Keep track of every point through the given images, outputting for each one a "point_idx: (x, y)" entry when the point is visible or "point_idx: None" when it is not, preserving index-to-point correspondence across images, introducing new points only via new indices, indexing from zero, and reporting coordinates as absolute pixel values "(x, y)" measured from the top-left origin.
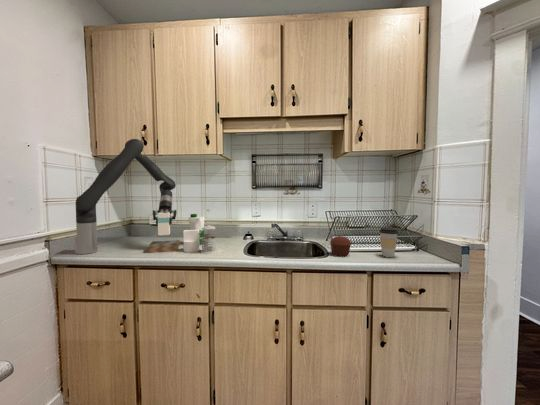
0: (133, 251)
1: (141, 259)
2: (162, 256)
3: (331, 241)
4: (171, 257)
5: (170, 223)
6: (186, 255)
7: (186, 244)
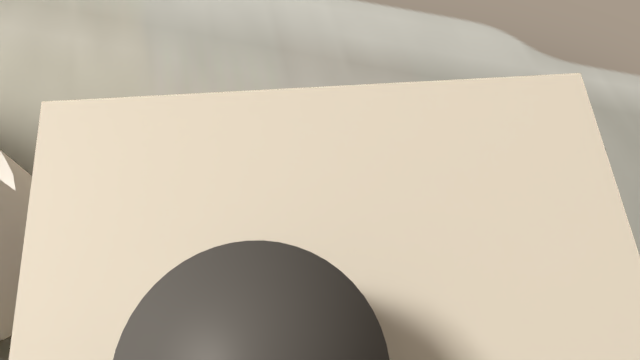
0: None
1: (412, 19)
2: (264, 70)
3: None
4: (182, 27)
5: None
6: (54, 61)
7: (3, 152)
